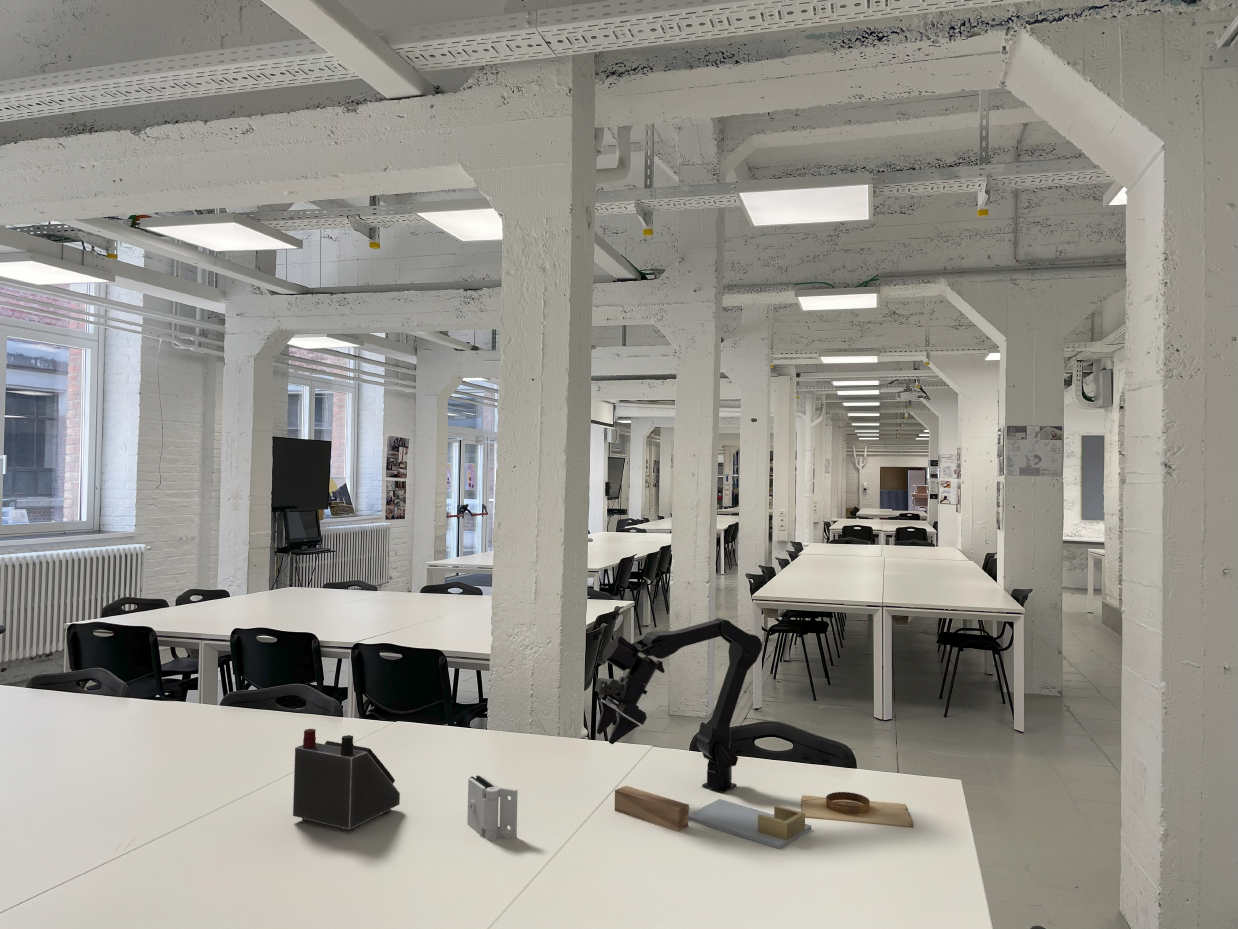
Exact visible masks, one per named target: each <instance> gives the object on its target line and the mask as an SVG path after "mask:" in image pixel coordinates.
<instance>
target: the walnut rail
mask: <svg viewBox="0 0 1238 929" xmlns="http://www.w3.org/2000/svg"><path fill="white" fill-rule="evenodd" d="M689 806H690V804H689V803H685V802H682V801H678V800H675V799H671V798H668V797H666V796H661V795H658V794H655V793H652V792H648V791H644V790H642V789H638V788H635V787H632V786H628V785H624V786H622V787H619V788H616V789H615V790H614V812H616V813H620V814H623V815H626V816H628V817H632V818H635V819H638V820H641V821H644V822H647V823H651V824H653V825H657V826H659V827H662V828H666V829H668V830H671V831H674V832H680V831H682V830H684V829H686V828H688V827H689V824H690V823H689V821H690V820H689V813H690V811H689V810H690V808H689Z"/></svg>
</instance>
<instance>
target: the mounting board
mask: <svg viewBox="0 0 1238 929" xmlns="http://www.w3.org/2000/svg"><path fill="white" fill-rule="evenodd" d="M759 814H762V815H766V816H769V817H773V818H774V813H773V814H772V813H769V812H766V811H763V810H759V809H755V808H752V807H749V806H745V805H742V804H739V803H735V802H732V801H728V800H724V799H720V798H718V799H717V800H714V801H712V802H710V803H708V804H706V805H704V806H702V807H700V808H697V809H695V810H693V811H691V812H689V821H691V822H693V823H697V824H700V825H703V826H707V827H709V828H713V829H715V830H716V829H717V830H719V831H722V832H726V833H728V834H732V835H734V836H738V837H740V838H741V837H742V838H744V839H746V840H747V839H748V840H751V841H754V842H756V843H760V844H763V845H767V846H769V847H772V848H775V849H779V850H781V849H782V848H783V847H785V846H787V845H789V844H790V843H791V842H794V841H795V840H797V839H798V838H800V837H802V836H803V835H805V834H806V833H808V832H810V831H811V830H812V825H810V824H808V823H805V830H803V831H802V832H800V833H799V834H797V835H795V836H794V837H792V838H790V839H789V840H787V841H786V840H783V839H780V838H777V837H773V836H770V835H767V834H764V833H760V832H758V815H759Z"/></svg>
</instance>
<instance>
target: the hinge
mask: <svg viewBox="0 0 1238 929" xmlns="http://www.w3.org/2000/svg"><path fill="white" fill-rule="evenodd" d="M467 781H468V782H467V820H466V821H467V824H466V825H467V826H468V827H469V828H471V829H472V830H473V831H475V833H477V834H478V835H479V836H481V837H483V836H484V838H485V839H486V840H496V839H498V837H501V838H506V839H507V838H508V839H512V840H513V839H514V840H515V839H517V836H518V835H517V834H518V832H517V831H518V791H519V790H518V789H515V788H507V787H503V786H498V785H497V784H495V783H494V782H492V781H491V780H490V779H488V778H486V777H485V776H484V775H478V774H477V775H476V776H475V777H474V776H470V777H468V780H467ZM509 797H510V799H509ZM508 827H510V829H509V828H508Z"/></svg>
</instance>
